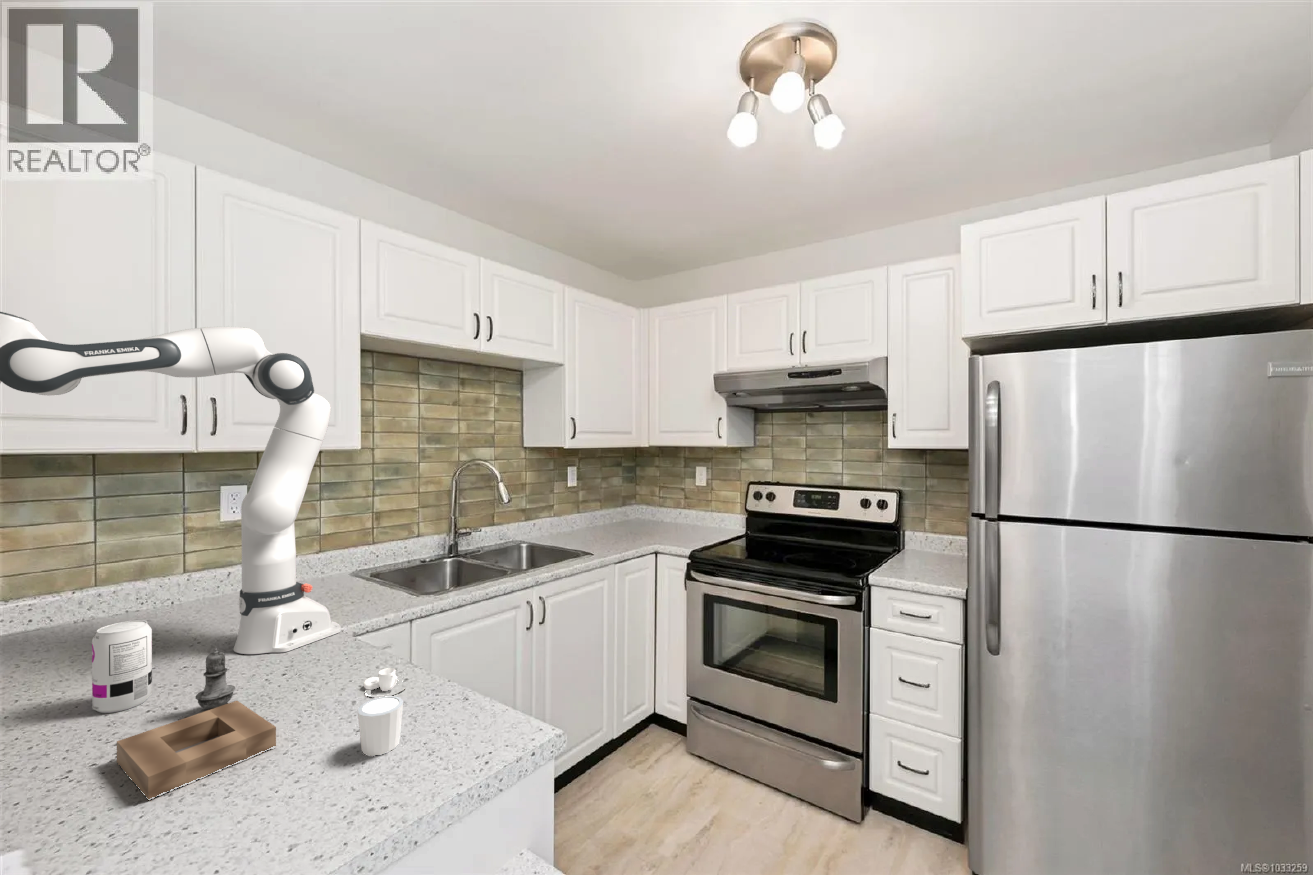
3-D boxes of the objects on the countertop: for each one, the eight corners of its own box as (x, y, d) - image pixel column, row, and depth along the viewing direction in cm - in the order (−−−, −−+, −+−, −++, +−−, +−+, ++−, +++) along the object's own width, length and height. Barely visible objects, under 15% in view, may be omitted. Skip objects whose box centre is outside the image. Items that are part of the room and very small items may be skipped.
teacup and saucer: (357, 689, 113) (357, 670, 113) (398, 677, 118) (398, 658, 118) (371, 705, 107) (371, 684, 106) (413, 691, 112) (413, 671, 112)
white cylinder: (391, 730, 97) (391, 691, 97) (410, 745, 92) (410, 703, 92) (350, 748, 91) (350, 706, 91) (368, 764, 87) (368, 720, 87)
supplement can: (80, 717, 101) (80, 636, 101) (111, 696, 109) (111, 621, 109) (134, 711, 103) (134, 632, 103) (161, 691, 111) (160, 617, 111)
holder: (237, 719, 100) (237, 700, 100) (276, 747, 91) (275, 726, 91) (116, 763, 87) (116, 741, 87) (148, 801, 78) (148, 777, 78)
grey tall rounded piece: (213, 720, 100) (212, 655, 100) (186, 717, 101) (186, 652, 101) (243, 705, 106) (243, 642, 105) (218, 701, 107) (218, 640, 107)
